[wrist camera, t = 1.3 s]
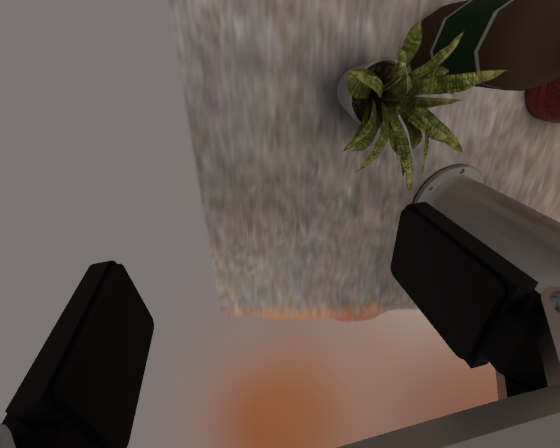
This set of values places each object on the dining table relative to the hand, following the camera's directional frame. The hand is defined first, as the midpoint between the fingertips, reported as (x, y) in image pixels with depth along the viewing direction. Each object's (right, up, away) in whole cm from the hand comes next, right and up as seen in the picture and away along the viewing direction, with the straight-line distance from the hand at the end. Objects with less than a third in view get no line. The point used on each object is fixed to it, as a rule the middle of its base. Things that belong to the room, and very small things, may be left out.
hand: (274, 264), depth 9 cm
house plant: (+9, +18, +25) cm, 32 cm away
